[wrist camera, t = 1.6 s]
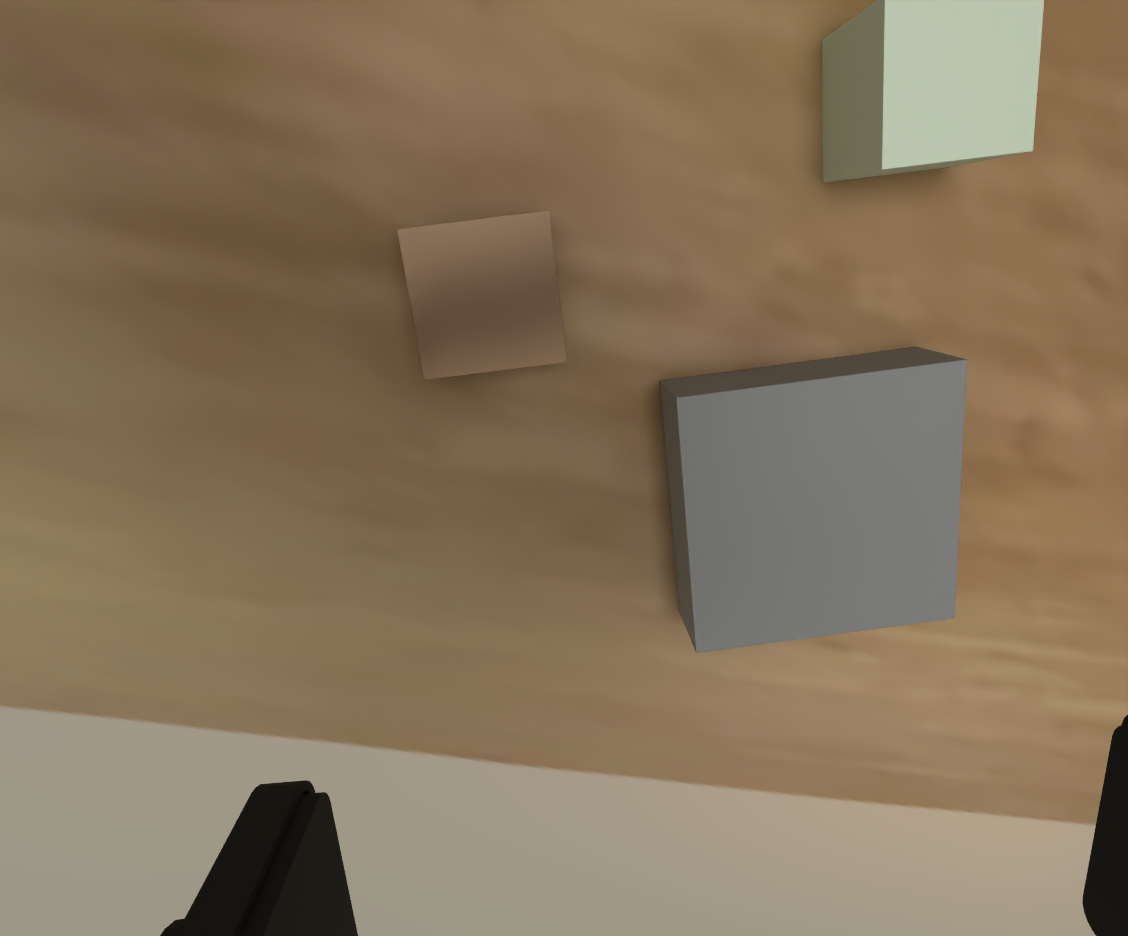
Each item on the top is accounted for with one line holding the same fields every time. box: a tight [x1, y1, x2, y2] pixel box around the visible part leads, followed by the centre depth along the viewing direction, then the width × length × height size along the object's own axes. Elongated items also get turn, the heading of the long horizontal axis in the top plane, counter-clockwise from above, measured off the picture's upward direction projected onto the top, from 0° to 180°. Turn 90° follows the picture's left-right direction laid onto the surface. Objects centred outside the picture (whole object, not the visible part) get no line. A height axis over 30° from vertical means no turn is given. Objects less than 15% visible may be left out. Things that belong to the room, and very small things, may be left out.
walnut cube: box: [397, 211, 567, 380], centre depth 26 cm, size 5×5×5 cm
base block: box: [660, 347, 967, 653], centre depth 30 cm, size 11×11×4 cm
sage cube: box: [822, 0, 1044, 183], centre depth 25 cm, size 5×5×5 cm
